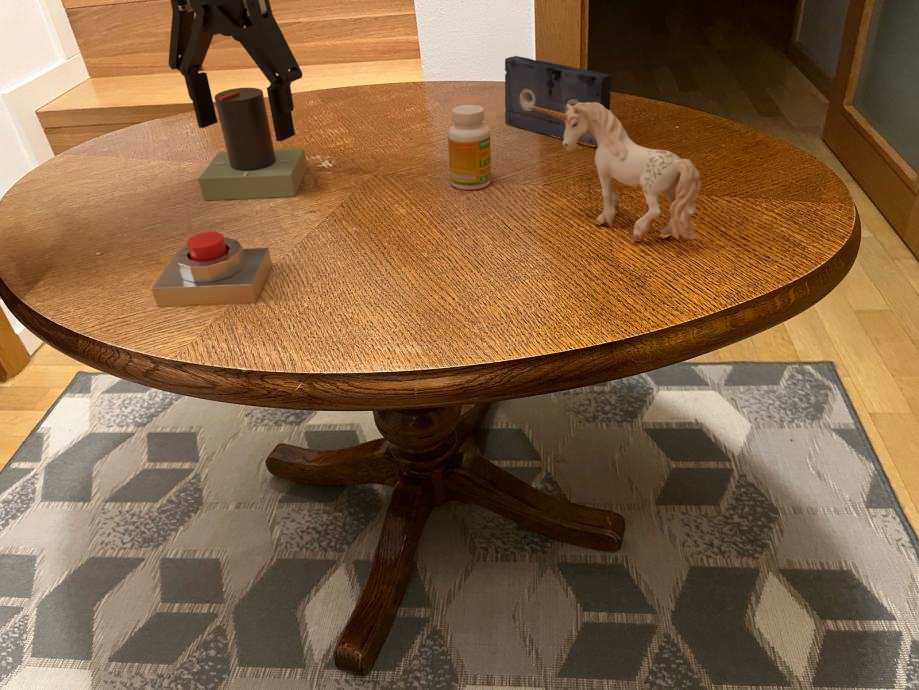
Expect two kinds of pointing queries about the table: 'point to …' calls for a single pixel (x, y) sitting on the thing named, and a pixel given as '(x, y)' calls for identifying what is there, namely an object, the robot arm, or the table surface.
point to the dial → (245, 128)
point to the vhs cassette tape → (550, 94)
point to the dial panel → (254, 177)
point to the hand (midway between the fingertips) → (246, 131)
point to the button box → (214, 278)
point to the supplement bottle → (469, 148)
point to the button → (206, 246)
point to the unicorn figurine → (633, 169)
